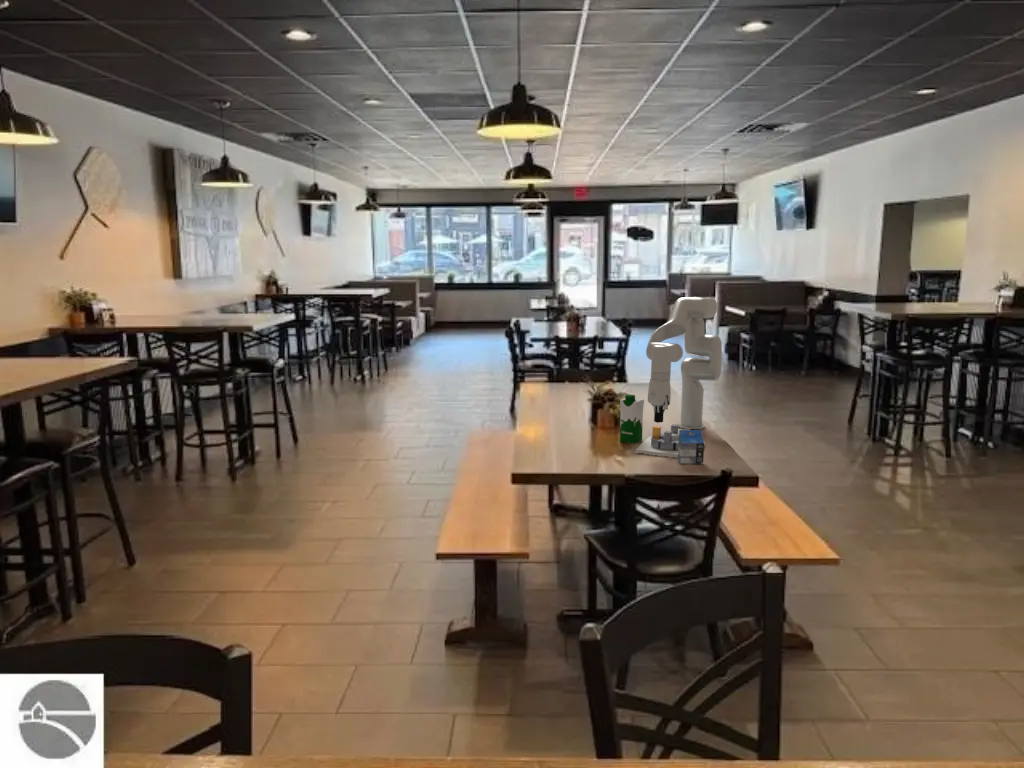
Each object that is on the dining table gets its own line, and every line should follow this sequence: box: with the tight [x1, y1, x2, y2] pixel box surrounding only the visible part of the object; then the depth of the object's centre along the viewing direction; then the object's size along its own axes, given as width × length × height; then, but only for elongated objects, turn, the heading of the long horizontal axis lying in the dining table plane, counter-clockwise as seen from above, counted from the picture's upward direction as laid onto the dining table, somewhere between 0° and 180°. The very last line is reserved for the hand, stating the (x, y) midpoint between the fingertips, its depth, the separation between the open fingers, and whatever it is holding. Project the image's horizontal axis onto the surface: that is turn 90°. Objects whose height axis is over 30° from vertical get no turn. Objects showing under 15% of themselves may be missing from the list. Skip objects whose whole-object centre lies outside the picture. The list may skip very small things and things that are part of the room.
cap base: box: [634, 433, 706, 458], centre depth 295 cm, size 23×23×6 cm
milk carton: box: [619, 394, 645, 445], centre depth 307 cm, size 9×9×20 cm
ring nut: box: [651, 423, 692, 450], centre depth 295 cm, size 15×15×7 cm
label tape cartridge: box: [677, 429, 705, 465], centre depth 276 cm, size 9×4×12 cm, turn 91°
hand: (658, 421), depth 291 cm, fingers closed
